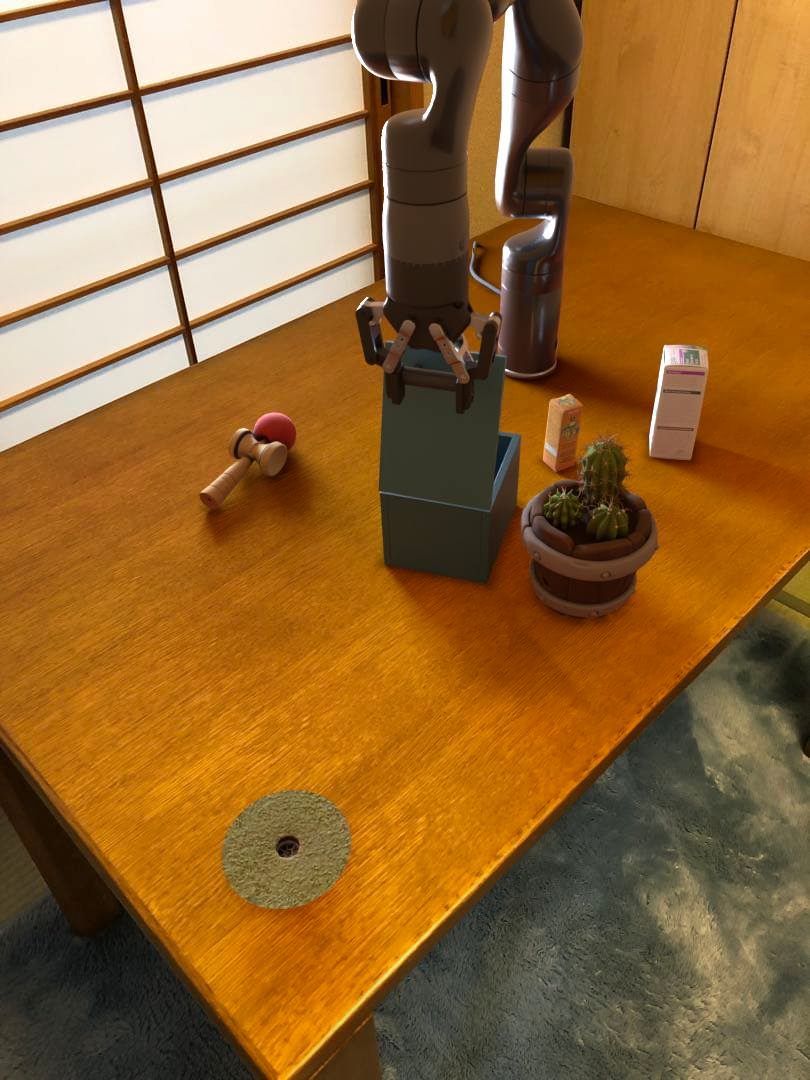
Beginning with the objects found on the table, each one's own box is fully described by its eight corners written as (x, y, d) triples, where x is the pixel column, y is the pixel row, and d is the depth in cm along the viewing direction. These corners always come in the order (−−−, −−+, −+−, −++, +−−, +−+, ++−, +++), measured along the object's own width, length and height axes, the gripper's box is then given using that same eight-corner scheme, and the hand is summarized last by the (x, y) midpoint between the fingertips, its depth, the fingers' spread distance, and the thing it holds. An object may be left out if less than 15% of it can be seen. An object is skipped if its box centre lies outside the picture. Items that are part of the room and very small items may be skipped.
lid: (387, 340, 92) (369, 351, 87) (507, 355, 88) (495, 368, 84) (380, 488, 99) (363, 506, 94) (491, 508, 96) (479, 527, 91)
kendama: (241, 526, 114) (315, 441, 124) (222, 490, 110) (300, 404, 120) (199, 517, 118) (273, 435, 128) (179, 481, 114) (258, 399, 124)
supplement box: (556, 474, 119) (562, 410, 112) (542, 461, 121) (547, 398, 115) (576, 466, 120) (584, 403, 113) (562, 454, 122) (568, 391, 116)
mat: (284, 947, 71) (281, 936, 70) (198, 863, 77) (194, 851, 76) (379, 851, 77) (378, 839, 76) (292, 779, 83) (290, 767, 82)
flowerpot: (619, 656, 94) (647, 510, 81) (492, 605, 100) (498, 462, 87) (665, 575, 103) (697, 433, 90) (546, 533, 109) (560, 395, 96)
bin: (422, 488, 117) (421, 419, 110) (516, 504, 114) (521, 434, 107) (384, 564, 106) (379, 493, 99) (487, 585, 103) (490, 512, 96)
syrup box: (691, 461, 120) (712, 367, 110) (647, 457, 121) (664, 364, 111) (690, 438, 124) (709, 345, 115) (647, 434, 125) (663, 342, 116)
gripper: (516, 233, 78) (508, 396, 89) (364, 219, 81) (375, 377, 93) (496, 268, 72) (490, 436, 84) (334, 251, 76) (349, 415, 87)
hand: (429, 404), depth 88 cm, fingers closed on lid, 6 cm apart
